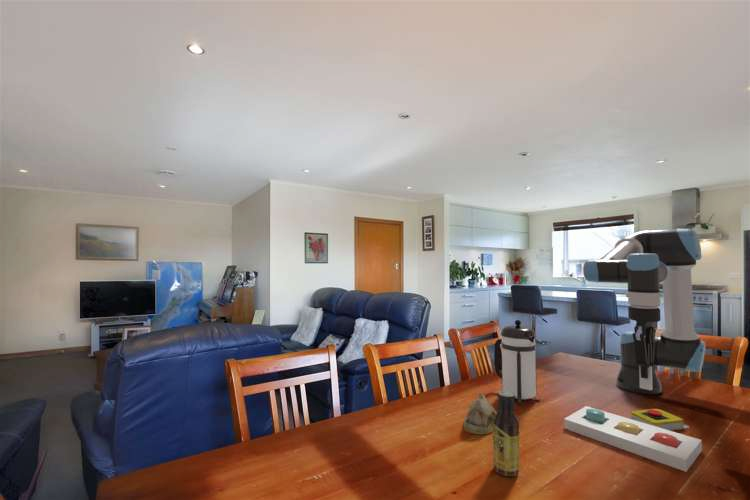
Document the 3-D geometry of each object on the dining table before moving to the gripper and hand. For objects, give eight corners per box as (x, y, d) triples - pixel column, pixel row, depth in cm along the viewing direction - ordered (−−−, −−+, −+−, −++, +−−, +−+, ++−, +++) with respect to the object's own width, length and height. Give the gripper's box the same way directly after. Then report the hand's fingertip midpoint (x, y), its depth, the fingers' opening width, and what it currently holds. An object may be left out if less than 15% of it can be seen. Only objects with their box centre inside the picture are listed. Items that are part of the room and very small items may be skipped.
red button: (658, 443, 105) (657, 431, 105) (680, 450, 101) (679, 437, 101) (652, 449, 102) (652, 436, 102) (674, 456, 98) (674, 443, 98)
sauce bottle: (489, 464, 95) (488, 388, 96) (512, 463, 96) (511, 387, 96) (500, 480, 89) (498, 397, 89) (524, 478, 89) (523, 396, 90)
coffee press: (540, 393, 145) (539, 317, 146) (540, 408, 131) (538, 324, 131) (495, 387, 152) (493, 315, 153) (490, 400, 138) (488, 321, 139)
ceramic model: (469, 414, 127) (469, 385, 127) (503, 420, 122) (502, 390, 122) (457, 430, 115) (457, 398, 115) (494, 439, 109) (494, 405, 109)
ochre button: (622, 431, 112) (621, 420, 112) (641, 438, 108) (641, 426, 108) (615, 436, 109) (615, 424, 109) (635, 443, 105) (635, 431, 105)
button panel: (586, 414, 125) (586, 406, 125) (701, 450, 101) (701, 440, 101) (564, 428, 115) (564, 418, 115) (686, 471, 91) (685, 459, 92)
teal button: (590, 418, 119) (590, 407, 119) (607, 423, 115) (607, 412, 115) (583, 422, 116) (583, 411, 116) (600, 428, 112) (600, 416, 112)
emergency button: (625, 407, 121) (662, 404, 124) (625, 421, 121) (662, 417, 124) (651, 419, 112) (690, 415, 115) (651, 434, 112) (691, 429, 115)
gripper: (635, 303, 113) (637, 380, 112) (621, 307, 104) (623, 390, 104) (666, 305, 107) (668, 386, 106) (653, 310, 99) (655, 398, 98)
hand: (646, 388), depth 105 cm, fingers closed
